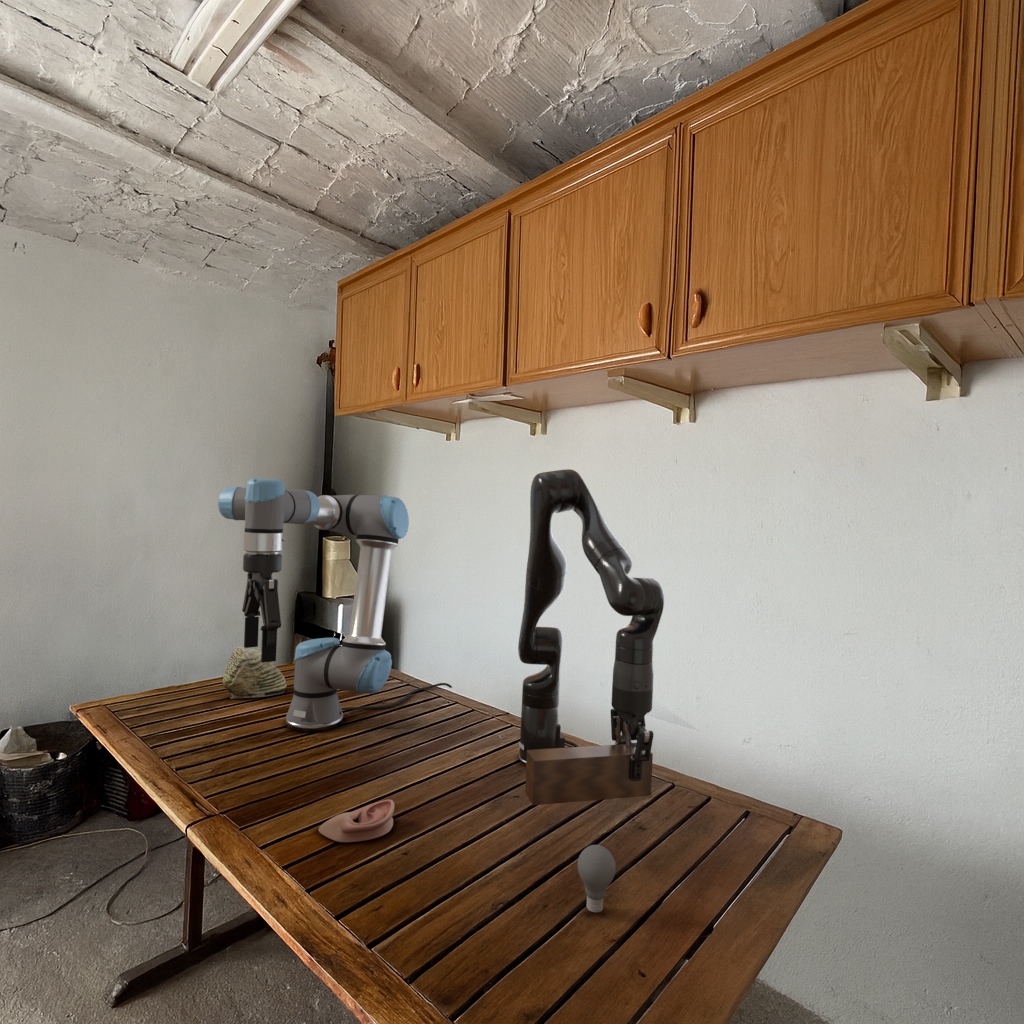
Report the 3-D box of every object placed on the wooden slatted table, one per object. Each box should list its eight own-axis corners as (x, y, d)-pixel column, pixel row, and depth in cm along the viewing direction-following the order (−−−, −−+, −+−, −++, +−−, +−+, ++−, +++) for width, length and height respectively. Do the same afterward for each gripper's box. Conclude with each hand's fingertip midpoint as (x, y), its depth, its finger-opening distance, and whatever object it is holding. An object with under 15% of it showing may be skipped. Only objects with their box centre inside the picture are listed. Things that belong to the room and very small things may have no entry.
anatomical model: (310, 816, 117) (339, 789, 129) (309, 837, 117) (338, 808, 129) (377, 827, 115) (401, 798, 126) (376, 848, 115) (400, 818, 126)
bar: (532, 805, 112) (534, 761, 112) (524, 792, 117) (526, 749, 116) (651, 795, 117) (653, 753, 117) (638, 783, 122) (640, 742, 122)
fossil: (218, 695, 195) (220, 647, 195) (278, 685, 208) (279, 640, 207) (228, 703, 189) (230, 653, 188) (289, 692, 201) (290, 645, 201)
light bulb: (572, 898, 103) (575, 837, 103) (608, 897, 103) (611, 837, 103) (579, 922, 97) (582, 858, 97) (617, 922, 97) (620, 858, 97)
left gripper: (300, 558, 124) (296, 665, 125) (265, 547, 144) (261, 640, 145) (260, 559, 120) (256, 670, 120) (229, 547, 140) (226, 643, 140)
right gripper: (669, 694, 113) (665, 789, 113) (634, 672, 127) (630, 757, 127) (630, 696, 111) (626, 792, 111) (599, 673, 125) (595, 759, 125)
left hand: (259, 654), depth 132 cm, fingers open, 13 cm apart
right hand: (628, 773), depth 119 cm, fingers closed on bar, 5 cm apart
